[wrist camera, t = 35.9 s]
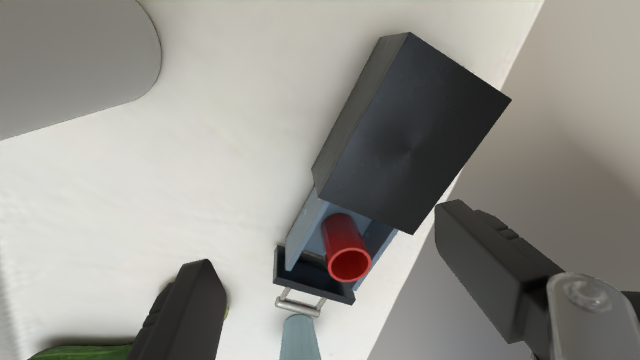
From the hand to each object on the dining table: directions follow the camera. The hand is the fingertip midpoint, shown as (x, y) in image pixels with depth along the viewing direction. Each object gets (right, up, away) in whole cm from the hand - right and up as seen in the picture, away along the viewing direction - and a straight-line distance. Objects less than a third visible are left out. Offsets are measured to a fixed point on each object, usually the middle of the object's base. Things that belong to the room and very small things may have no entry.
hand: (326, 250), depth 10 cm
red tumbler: (+3, -5, +31) cm, 32 cm away
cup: (-4, -25, +42) cm, 49 cm away
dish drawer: (+1, -6, +33) cm, 33 cm away
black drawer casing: (+9, +9, +28) cm, 31 cm away
